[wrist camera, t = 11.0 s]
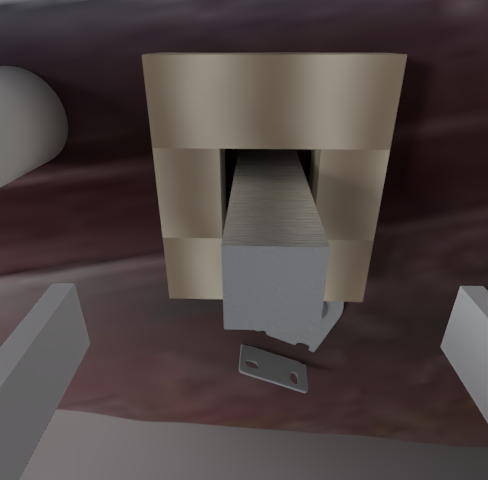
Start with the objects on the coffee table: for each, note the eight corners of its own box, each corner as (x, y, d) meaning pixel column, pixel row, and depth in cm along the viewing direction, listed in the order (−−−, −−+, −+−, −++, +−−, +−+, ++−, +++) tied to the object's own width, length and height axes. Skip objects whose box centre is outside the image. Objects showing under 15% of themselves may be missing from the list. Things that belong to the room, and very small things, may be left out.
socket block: (179, 269, 31) (169, 298, 28) (159, 52, 24) (141, 54, 20) (350, 271, 31) (362, 302, 27) (384, 52, 23) (407, 54, 20)
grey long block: (239, 202, 28) (223, 329, 16) (238, 149, 26) (221, 245, 14) (292, 203, 28) (319, 331, 16) (296, 149, 26) (329, 247, 14)
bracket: (356, 285, 32) (366, 311, 29) (303, 364, 36) (307, 394, 33) (284, 259, 31) (287, 283, 28) (240, 343, 35) (238, 372, 32)
